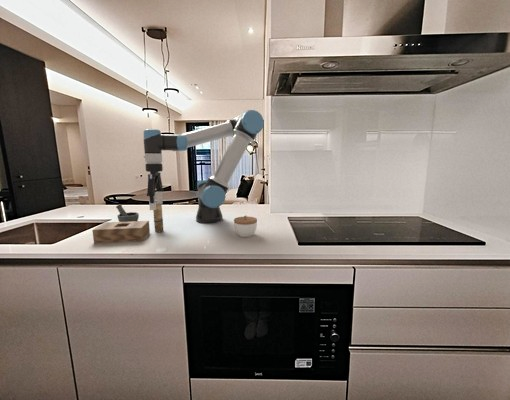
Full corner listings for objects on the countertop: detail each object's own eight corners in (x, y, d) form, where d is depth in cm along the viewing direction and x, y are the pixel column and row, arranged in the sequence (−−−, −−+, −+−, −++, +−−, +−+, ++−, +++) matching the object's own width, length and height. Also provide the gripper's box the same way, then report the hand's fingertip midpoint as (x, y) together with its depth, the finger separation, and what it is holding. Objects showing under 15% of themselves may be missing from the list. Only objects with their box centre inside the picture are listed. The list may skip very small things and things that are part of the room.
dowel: (164, 229, 129) (162, 202, 126) (162, 232, 125) (160, 204, 122) (155, 229, 128) (153, 202, 126) (153, 232, 124) (151, 204, 122)
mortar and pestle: (143, 225, 137) (141, 203, 135) (131, 230, 128) (129, 206, 126) (124, 224, 139) (122, 202, 137) (112, 229, 130) (109, 206, 128)
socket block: (149, 232, 124) (148, 220, 123) (142, 240, 112) (141, 227, 111) (106, 234, 121) (104, 222, 120) (94, 243, 110) (92, 229, 109)
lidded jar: (261, 234, 120) (261, 215, 118) (245, 240, 112) (245, 220, 110) (245, 230, 127) (245, 212, 125) (229, 235, 119) (229, 216, 117)
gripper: (152, 162, 132) (154, 202, 136) (137, 164, 108) (140, 212, 111) (167, 162, 133) (169, 202, 137) (155, 164, 109) (158, 212, 112)
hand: (156, 206), depth 124 cm, fingers open, 13 cm apart
